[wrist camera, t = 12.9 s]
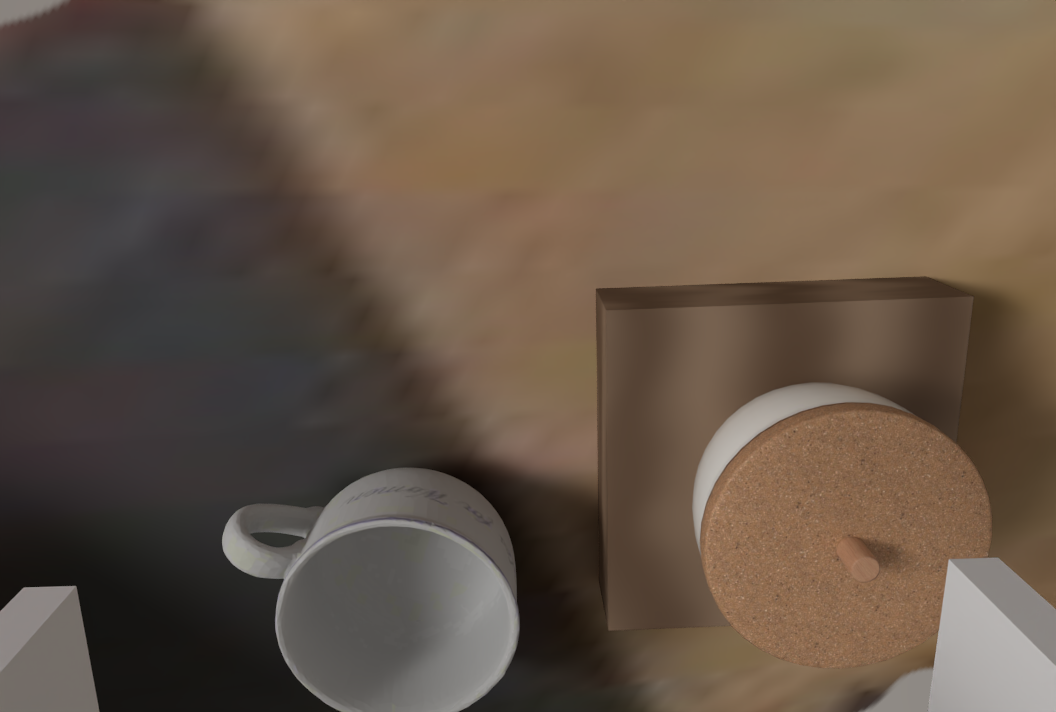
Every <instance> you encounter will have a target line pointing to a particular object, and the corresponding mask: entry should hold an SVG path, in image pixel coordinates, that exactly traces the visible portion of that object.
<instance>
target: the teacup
mask: <svg viewBox="0 0 1056 712" xmlns="http://www.w3.org/2000/svg"><path fill="white" fill-rule="evenodd" d="M256 532H276V533H285V534H291V535H296V536H301V537H304V538H305V539H302V540H299V541H297V542H295V543H294V544H293V545H291V546H288V547H282V548H276V547H271V546H268V545H265V544H262V543H260V542H259V541H257V540H255V539H254V538H253V537H252V536H251V535H250V533H256ZM222 545H223V551H224V553H225V555H226V557H227V558H228V559H229V561H230V562H231V563H232V564H233V565H234V566H236V567H237V568H239V569H240V570H241V571H243V572H245V573H248V574H250V575H253V576H256V577H261V578H274V579H281V578H283V579H284V581H283V584H282V586H281V589H280V592H279V595H278V600H277V606H276V615H275V630H276V634H277V639H278V644H279V647H280V649H281V652H282V655H283V657H284V659H285V661H286V663H287V665H288V666H289V668H290V669H291V671H292V672H293V674H294V675H295V676H296V678H297V679H298V680H299V681H300V682H301V683H302V684H303V685H304V686H305V687H306V688H307V689H308V690H309V691H310V692H311V693H313V694H314V695H315V696H317V697H318V698H319V699H321V700H322V701H323V702H324V703H326V704H327V705H329V706H331V707H333V708H335V709H336V710H339V711H341V712H459V711H461V710H463V709H465V708H467V707H469V706H470V705H471V704H473V703H474V702H476V701H477V700H479V699H480V698H481V697H483V696H484V695H486V694H487V693H488V692H489V691H490V690H491V689H492V688H493V687H494V686H495V685H496V684H497V683H498V681H499V680H500V679H501V678H502V677H503V676H504V674H505V672H506V670H507V668H508V667H509V665H510V663H511V661H512V658H513V656H514V653H515V651H516V648H517V644H518V639H519V632H520V618H519V610H518V606H517V582H516V566H515V558H514V552H513V547H512V543H511V540H510V537H509V534H508V531H507V529H506V527H505V525H504V523H503V521H502V519H501V518H500V516H499V515H498V513H497V511H496V510H495V509H494V508H493V506H492V505H491V504H490V503H489V502H488V501H487V500H486V499H485V498H484V497H483V496H482V495H481V494H480V493H479V492H478V491H476V490H475V489H474V488H472V487H471V486H469V485H468V484H466V483H464V482H462V481H461V480H459V479H457V478H455V477H452V476H450V475H447V474H445V473H442V472H438V471H434V470H430V469H424V468H395V469H388V470H384V471H380V472H377V473H373V474H371V475H368V476H365V477H363V478H361V479H359V480H357V481H355V482H353V483H352V484H350V485H349V486H347V487H346V488H344V489H343V490H342V491H341V492H340V493H338V494H337V495H336V496H335V497H334V498H333V499H332V500H331V501H330V502H329V503H328V505H327V506H326V507H320V506H312V507H308V508H303V507H296V506H289V505H280V504H267V503H266V504H254V505H248V506H245V507H243V508H241V509H239V510H238V511H236V512H235V513H234V514H233V515H232V517H231V518H230V519H229V521H228V523H227V525H226V527H225V530H224V533H223V538H222Z"/></svg>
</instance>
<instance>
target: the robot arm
mask: <svg viewBox="0 0 1056 712" xmlns="http://www.w3.org/2000/svg"><path fill="white" fill-rule="evenodd" d="M0 712H99V707H98V701H97V696H96V690H95V685H94V679H93V674H92V669H91V663H90V658H89V652H88V647H87V641H86V636H85V631H84V625H83V620H82V614H81V609H80V603H79V598H78V592H77V587H76V586H57V587H25V588H23V589H22V590H21V591H20V592H19V593H18V594H17V595H16V596H15V597H14V598H13V599H12V600H11V601H10V602H9V603H8V604H7V605H6V606H5V607H4V608H3V609H2V610H1V611H0ZM928 712H1056V609H1055V608H1054V607H1053V606H1051V605H1050V604H1049V603H1048V602H1047V601H1046V600H1045V599H1044V598H1043V597H1041V596H1040V595H1039V594H1038V593H1037V592H1036V591H1035V590H1034V589H1033V588H1031V587H1030V586H1029V585H1028V584H1027V583H1026V582H1025V581H1024V580H1023V579H1021V578H1020V577H1019V576H1018V575H1017V574H1016V573H1015V572H1014V571H1012V570H1011V569H1010V568H1009V567H1008V566H1007V565H1006V564H1005V563H1004V562H1002V561H1001V560H1000V559H999V558H968V559H949V561H948V569H947V576H946V583H945V590H944V597H943V604H942V612H941V619H940V626H939V633H938V640H937V647H936V655H935V662H934V669H933V676H932V683H931V690H930V697H929V705H928Z"/></svg>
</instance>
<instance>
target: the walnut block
mask: <svg viewBox="0 0 1056 712" xmlns="http://www.w3.org/2000/svg"><path fill="white" fill-rule="evenodd" d="M973 299H974V296H971V295H969V294H966V293H964V292H962V291H959V290H957V289H954V288H952V287H950V286H947V285H945V284H942V283H940V282H938V281H935V280H933V279H930V278H928V277H900V278H873V279H846V280H819V281H792V282H764V283H737V284H710V285H683V286H656V287H629V288H602V289H596V338H597V431H598V524H599V583H600V588H601V594H602V599H603V604H604V610H605V615H606V620H607V625H608V631H615V630H639V629H663V628H686V627H710V626H731V625H730V623H729V622H728V621H727V619H726V618H725V617H724V615H723V614H722V612H721V611H720V610H719V608H718V606H717V604H716V602H715V600H714V598H713V596H712V593H711V591H710V589H709V587H708V584H707V580H706V577H705V573H704V570H703V566H702V562H701V555H700V552H699V548H698V545H697V541H696V537H695V531H694V522H693V512H692V503H693V490H694V481H695V477H696V473H697V469H698V465H699V462H700V460H701V458H702V456H703V453H704V451H705V449H706V447H707V445H708V444H709V442H710V441H711V439H712V438H713V436H714V434H715V433H716V431H717V430H718V429H719V428H720V427H721V425H722V424H723V423H724V422H725V421H726V420H727V419H728V418H729V417H730V416H731V415H732V414H733V413H734V412H736V411H737V410H738V409H739V408H740V407H742V406H743V405H745V404H746V403H748V402H750V401H751V400H753V399H754V398H756V397H758V396H761V395H763V394H765V393H767V392H770V391H772V390H775V389H779V388H782V387H786V386H790V385H795V384H803V383H811V382H819V383H835V384H841V385H847V386H852V387H856V388H860V389H863V390H866V391H869V392H871V393H874V394H877V395H879V396H882V397H884V398H886V399H888V400H890V401H892V402H894V403H896V404H898V405H899V406H901V407H903V408H905V409H906V410H908V411H909V412H911V413H913V414H914V415H916V416H917V417H919V418H921V419H923V420H925V421H926V422H928V423H930V424H932V425H934V426H935V427H936V428H938V429H939V430H940V431H942V432H943V433H944V434H945V435H947V436H948V437H949V438H950V439H952V440H953V441H954V442H955V443H956V442H957V433H958V425H959V417H960V408H961V400H962V391H963V383H964V375H965V366H966V358H967V349H968V341H969V332H970V324H971V316H972V307H973Z"/></svg>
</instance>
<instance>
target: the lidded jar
mask: <svg viewBox="0 0 1056 712" xmlns="http://www.w3.org/2000/svg"><path fill="white" fill-rule="evenodd" d="M692 512H693V522H694V531H695V537H696V541H697V545H698V548H699V552H700V555H701V562H702V566H703V570H704V573H705V577H706V580H707V584H708V587H709V589H710V591H711V593H712V596H713V598H714V600H715V602H716V604H717V606H718V608H719V610H720V611H721V612H722V614H723V615H724V617H725V618H726V619H727V621H728V622H729V623H730V625H731V626H732V627H733V628H734V629H735V630H736V631H737V632H738V633H739V634H741V635H742V636H743V637H744V638H745V639H746V640H748V641H749V642H751V643H752V644H753V645H755V646H756V647H758V648H759V649H761V650H763V651H765V652H767V653H769V654H771V655H773V656H775V657H777V658H779V659H783V660H786V661H789V662H793V663H796V664H799V665H806V666H812V667H819V668H848V667H856V666H863V665H868V664H872V663H876V662H880V661H884V660H887V659H890V658H892V657H894V656H897V655H899V654H902V653H904V652H906V651H908V650H910V649H912V648H914V647H915V646H917V645H919V644H921V643H923V642H925V641H926V640H927V639H929V638H930V637H931V636H932V635H934V634H935V633H936V632H938V631H939V626H940V619H941V612H942V604H943V597H944V590H945V583H946V576H947V569H948V561H949V559H968V558H988V554H989V549H990V544H991V539H992V513H991V507H990V501H989V496H988V493H987V490H986V487H985V485H984V482H983V479H982V477H981V475H980V474H979V472H978V470H977V468H976V467H975V465H974V463H973V462H972V460H971V459H970V458H969V457H968V455H967V454H966V453H965V452H964V451H963V450H962V449H961V448H960V446H959V445H958V444H957V443H955V442H954V441H953V440H952V439H950V438H949V437H948V436H947V435H945V434H944V433H943V432H942V431H940V430H939V429H938V428H936V427H935V426H934V425H932V424H930V423H928V422H926V421H925V420H923V419H921V418H919V417H917V416H916V415H914V414H913V413H911V412H909V411H908V410H906V409H905V408H903V407H901V406H899V405H898V404H896V403H894V402H892V401H890V400H888V399H886V398H884V397H882V396H879V395H877V394H874V393H871V392H869V391H866V390H863V389H860V388H856V387H852V386H847V385H841V384H835V383H819V382H811V383H803V384H795V385H790V386H786V387H782V388H779V389H775V390H772V391H770V392H767V393H765V394H763V395H761V396H758V397H756V398H754V399H753V400H751V401H750V402H748V403H746V404H745V405H743V406H742V407H740V408H739V409H738V410H737V411H736V412H734V413H733V414H732V415H731V416H730V417H729V418H728V419H727V420H726V421H725V422H724V423H723V424H722V425H721V427H720V428H719V429H718V430H717V431H716V433H715V434H714V436H713V438H712V439H711V441H710V442H709V444H708V445H707V447H706V449H705V451H704V453H703V456H702V458H701V460H700V462H699V465H698V469H697V473H696V477H695V481H694V490H693V503H692Z"/></svg>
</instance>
